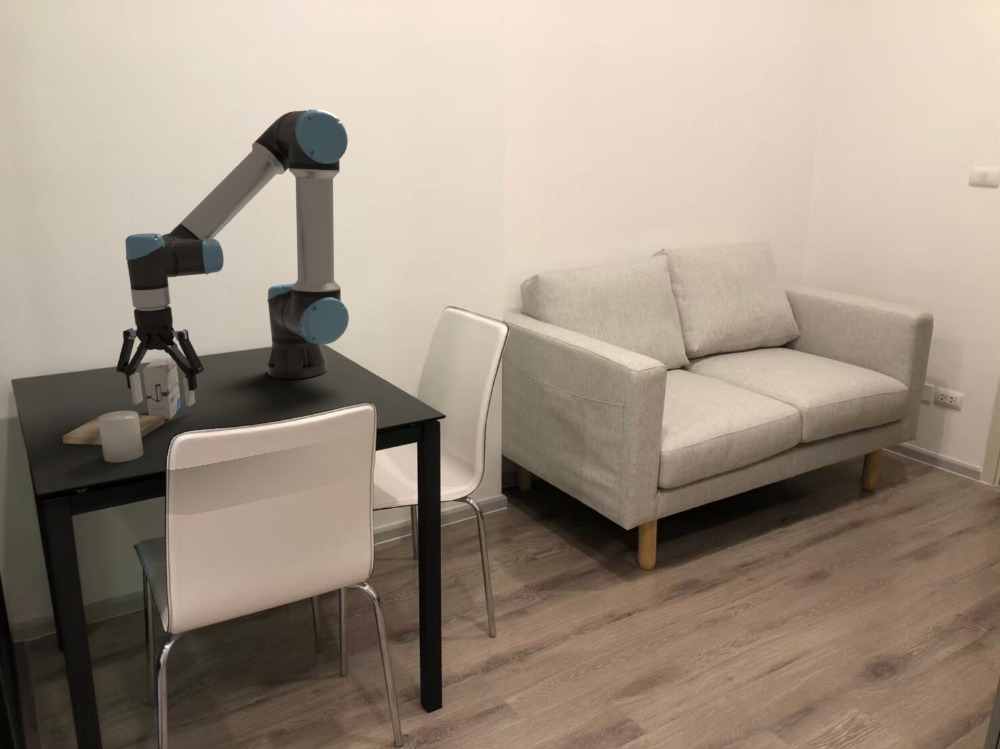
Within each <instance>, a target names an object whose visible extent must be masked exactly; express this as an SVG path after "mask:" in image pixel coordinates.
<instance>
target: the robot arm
mask: <svg viewBox="0 0 1000 749" xmlns="http://www.w3.org/2000/svg"><path fill="white" fill-rule="evenodd" d="M348 143H349V142H348V134H347V130H346V128H345V126H344V124H343V122H342V121H341V120H340V119H339V118H338V117H337V116H336V115H335V114H333V113H331V112H330V111H326V110H320V109H317V108H315V109H307V110H305V109H304V110H294V111H288V112H286V113H284V114H283V115H281V116H279V117H278V118H277V119H276V120H275V121H274V122H273V123H272V124H271V125H269V126H268V128H266V129H265V131H264V132H263V133H262V134H261V135H260V136H259V137H258V138H257V139H256V140H255V141H254V142H253V143H252V144H251V151H250V152H249V153H248V154H247V155H246V156H245V157H244V158H243V159H242V160H241V161H240V162H239V163H238V164H237V166H235V167H234V168H233V169H232V170H231V171H230V172H229V173H228V175H226V176H225V177H224V178H223V179H222V180H221V181H220V182H219V183H218V184H217V186H215V187H214V188H213V190H212V191H210V192H209V193H208V195H207V196H205V197H204V198H203V200H202V201H200V203H198V204H197V206H195V207H194V208H193V209H192V210H191V212H189V213H188V214H187V216H186V217H184V219H182V221H181V222H180V223H179V224H178V225H177V226H175V227H174V228H173V229H172V230H171V231H170V232H168V233H164V234H163V235H162V234H160V233H154V232H150V233H136V234H131V235H128V236H127V237H126V238H125V242H124V244H125V260H126V264H127V270H128V276H129V284H130V293H131V301H132V307H133V308H134V310H133V316H134V324H135V326H136V329H134V328H131V327H130V328H128V329H126V330H124V331H122V338H123V341H122V345H121V346H122V347H121V350H120V354H119V357H118V361H117V365H116V368H115V369H116V372H118V373H122V374H124V375H125V376H126V385H127V388H128V389H129V390H131V396H132V397H131V398H132V404H133V405H139V403H142V402H143V401H144V398H143V392H142V391H143V389H142V383H141V376H140V375H141V374H140V372H137V371H138V370H137V369H138V368H139V366H140V364H141V363H142V360H143V359H144V357H145V356H146V354H147V352H148V351H153V350H156V351H163V352H164V353H166V354H167V355H169V356H170V358H172V359H173V360H174V361H175V362H176V364H177V367H179V368H180V370H181V371H182V372H183V374H184V375H185V376H183V377H182V382H183V390H184V391H183V392H184V398H185V406H186V407H190V406H192V405H194V404H195V403H196V397H195V390H197V388H198V383H197V375H199V374H200V373H203V372H204V370H205V368H204V365H203V364H202V362H201V360H200V358H199V355H198V354H197V352H196V350H195V348H194V346H193V344H192V342H191V340H190V337H189V335H190V334H189V331H188V330H187V329H182V330H175V329H174V327H173V323H174V320H173V318H174V317H173V312H172V307H171V306H170V304H171V296H170V286H169V285H170V284H169V278H176V277H184V276H185V277H187V276H194V275H195V276H197V275H209V274H214V273H219V272H221V270H222V269H223V267H224V262H225V261H224V258H225V257H224V251H223V248H222V246H221V243H220V242H219V240H217V239H216V238H215V237H216V236H217V235H219V233H220V232H221V231H222V230H223V229H224V228H225V227H226V226H227V225H228V224H229V223H230V222H231V221H232V220H233V219H234V218H235V216H237V215H238V214H239V213H240V212H241V211H242V210H243V209H244V208H245V206H247V204H249V203H250V202H251V200H252V199H253V198H255V196H256V195H257V194H259V193H260V192H261V190H263V188H264V187H266V186H267V185H268V184H269V183H270V181H271V180H272V179H273V178H274V177H275V176H276V175H284V174H285V173H286V171H287V170H288V171H289V172H290V173H292V175H293V176H294V178H295V206H296V207H295V211H296V213H295V214H296V215H295V216H296V218H295V219H296V254H297V258H296V259H297V262H296V263H297V266H296V267H297V280H296V282H295V283H294V282H293V283H287V284H286V283H285V284H277V285H273V286H270V287H269V288H268V289H267V303H268V315H269V325H270V326H269V327H270V334H271V348H270V352H269V354H268V360H267V365H266V370H267V375H268V376H270V377H272V378H274V379H282V380H283V379H284V380H285V379H286V380H296V379H306V378H311V377H316V376H319V375H321V374H324V373H326V371H327V370H328V364H327V359H326V356H325V354H324V352H323V349H322V347H321V345H323V346H324V345H330V344H332V343H335V342H336V341H337V340H339V339H340V338H341V336H343V335H344V334H345V332H346V331H347V329H348V326H349V321H350V315H349V310H348V308H347V306H346V305H345V304H344V303H343V302H342V299H341V298H342V297H341V296H342V294H341V286H340V285H339V284H338V282H336V281H335V254H334V253H335V252H334V251H335V250H334V249H335V247H334V246H335V245H334V244H335V242H334V241H335V240H334V238H335V237H334V232H335V228H334V179H335V177H336V176H337V175H338V174H339V173H340V164H341V163H340V159H342V157H343V156H344V155H345V153H346V151H347V148H348ZM136 338H137V339H138V340H139V344H138V346H137V348H136V351H135V353H134V354H133V356H132V353H133V352H132V351H133V348H134V345H135V340H136ZM174 339H176V340H175V341H178V344H179V346H180V348H179V347H178V345H177V343H176V342H175V341H174ZM180 349H181V350H182V351H181V350H180ZM131 356H132V357H131Z"/></svg>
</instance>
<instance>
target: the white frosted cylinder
mask: <svg viewBox="0 0 1000 749" xmlns="http://www.w3.org/2000/svg"><path fill="white" fill-rule="evenodd" d="M103 414H104V415H102V414H101V415H102V416H100V415H99V416H100V417H99V416H98V417H99V418H98V422H99V429H100V436H101V442H102V445H101V447H102V454H103V460H104V461H105V462H108V463H125V462H130V461H133V460H136V459H139V458H141V457H142V456H143V455H144V448H143V447H144V446H143V439H142V438H143V437H142V438H141V431H140V424H139V417H138V415H139V413H138V412H137V411H135V410H118V411H117V410H116V411H112V412H107V413H103Z"/></svg>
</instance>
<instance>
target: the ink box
mask: <svg viewBox="0 0 1000 749" xmlns="http://www.w3.org/2000/svg"><path fill="white" fill-rule="evenodd" d="M142 372H143V374H142V375H143V380H144V388H145V395H146V404H147V411H148V416H164V420H172V418H173V417H174V416H175V415H176V413H178V411H179V410H180V408H181V407H182V403H181V394H180V392H181V391H180V384H179V374H178V365H177V364H176V362H175V361H174V360H173V359H172V357H169V358H154V359H153V360H152V361H151V362H149V363H148V364H147V365H146V366H144V368H142Z"/></svg>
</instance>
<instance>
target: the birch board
mask: <svg viewBox="0 0 1000 749" xmlns="http://www.w3.org/2000/svg"><path fill="white" fill-rule="evenodd" d="M104 414H105V413H102V414H101V415H99V416H97V417H95V418H93V419H91V420H90V421H88V422H86V423H84V424H83V425H81V426H79V427H76V428H75V429H73V430H71V431H70V432H68V433H66V434H63V435H62V442H63V444H70V445H71V444H72V445H73V444H74V445H93V446H94V445H95V446H96V445H97V446H102V442H101V436H100V429H99V422H98V418H99V417H100V416H102V415H104ZM138 417H139V424H140V431H141V438H143V437H145V436H146V435H148V434H150V433H151V432H152V431H154V430H156V429H157V428H158V427H161V426H162V425H163V424H165V419H164V416H149V415H145V414H144V415H143V414H142V415H139V414H138Z"/></svg>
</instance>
